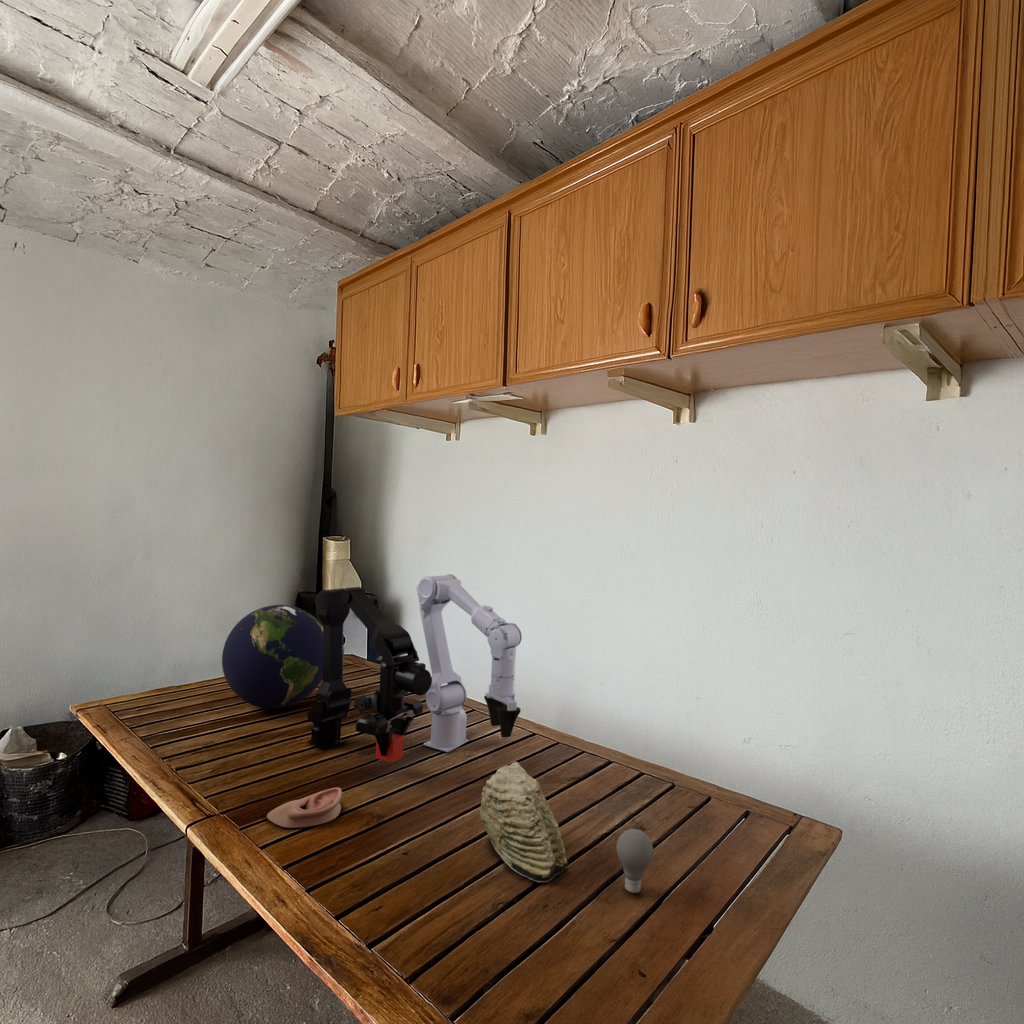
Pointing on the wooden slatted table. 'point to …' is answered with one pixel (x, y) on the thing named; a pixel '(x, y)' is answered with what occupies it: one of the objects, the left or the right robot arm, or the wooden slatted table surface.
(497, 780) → the fossil
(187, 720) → the wooden slatted table surface
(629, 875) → the light bulb
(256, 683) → the globe
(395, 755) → the block
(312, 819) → the anatomical model
